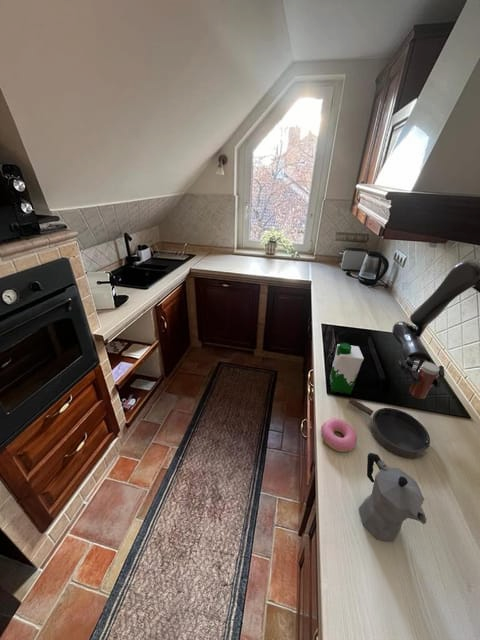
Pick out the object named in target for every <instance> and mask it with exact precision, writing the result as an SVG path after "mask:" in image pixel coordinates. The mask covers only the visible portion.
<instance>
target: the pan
mask: <svg viewBox="0 0 480 640" xmlns="http://www.w3.org/2000/svg"><path fill="white" fill-rule="evenodd" d="M369 429H370V433H371V435H372V437H373V438H374V440H375V441H376V442H377V444H379V445H380V446H381V448H383V449H384V450H386V451H387V452H389V453H390V454H392V455H394V456H397V457H399V458H402V459H406V460H407V459H408V460H416V459H419V458H421V457H423V456H424V455H425V453H426V452H427V450H428V449H429V448H430V445H431V437H430V434H429V432H428V430H427V429H426V427H425V426H424V425H423V424H422V423H421V421H419V420H418V419H417V418H415V417H414V416H413V415H411V414H409V413H407V412H405V411H402V410H400V409H397V408H392V407H382V408H379V409H377V410H376V411H375V412H373V414H372V416H371V419H370V423H369Z"/></svg>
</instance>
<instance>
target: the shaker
mask: <svg viewBox="0 0 480 640" xmlns="http://www.w3.org/2000/svg"><path fill="white" fill-rule="evenodd" d="M439 370H440V369H439V366H438V365H437V364H435V363H433V362H431V363H430V362H424V363H423V364H422V365H421V366H420V368H419V370H418V372H417V374H418V376H419V381H418V383H414V381H413V380H412V383H411V384H410V387H409V389H408V392H409V394H410V395H411V396H413V397H414V398H416V399H420V400H425V399H426V398H427V397H428V395H429V393H430V391H431V389H432V388H433V387H434V382H435V380H436V378H437V376H438V374H439Z"/></svg>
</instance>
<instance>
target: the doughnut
mask: <svg viewBox="0 0 480 640" xmlns="http://www.w3.org/2000/svg"><path fill="white" fill-rule="evenodd" d="M320 432H321V433H320V434H321V437H322V440H323V441H324V442H325V444H326V445H327V446H329V448H331V449H333V450H334V451H337V452H340V453H341V452H342V453H346V452H350V451H352V450H353V449H354V448H355V447H356V446H357V445H358V435H357V432H356V429H354V427H353V426H352V425H351V424H349V422H347V421H345V420H343V419H340V418H334V417H333V418H330V419H327V420H325V421H324V422H323V424H322V425H321V428H320ZM335 432H338V433H340V434H342V435H343V437H340V436H337V435H336V434H335Z"/></svg>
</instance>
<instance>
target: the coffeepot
mask: <svg viewBox="0 0 480 640" xmlns="http://www.w3.org/2000/svg"><path fill="white" fill-rule="evenodd" d="M366 462H367V463H366V464H367V465H366V477H367V478H368V480H369V481H370V482H371V483H373V485H372V490H371V493H370V494H369V495H368V496H367V497H366V498H365V499H364V501H363V502H362V503H361V505H359V508H358V511H359V516H360V517H359V518H360V519H361V523H362V526H363V527H364V528H365V529H366V530H367V531H368V532H369V534H371V535H372V536H373V537H374V538H375V539H376V540H378V541H383V542H391V543H394V542H395V540H396V539H397V537H398V535H399V534H400V531H401V530H402V527H403V526H402V525H403V522H404V521H406V520H407V519H410V520H414V521H417V522H420V523H421V524H422V525H426V523H427V517H426V514H425V511H424V509H423V508H422V505H423V504H424V501H425V497H424V495H423V493H422V491H421V489H420V487H419V484H418V482H417V481H416V480H415V479H414V478H413V477H412V476H410V475H408V473H406V472H405V471H403V469H401V468H399V467H392V466H388V465H387V463H385V461H384V460H383V459H382V458H381V457H380V455H379V454H377V453H374V452H368V454H367V461H366ZM374 465H376V467H377V468H378V470H379V471H378V472H377V473H376V474H375V476H374V477H373V473H374Z"/></svg>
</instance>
